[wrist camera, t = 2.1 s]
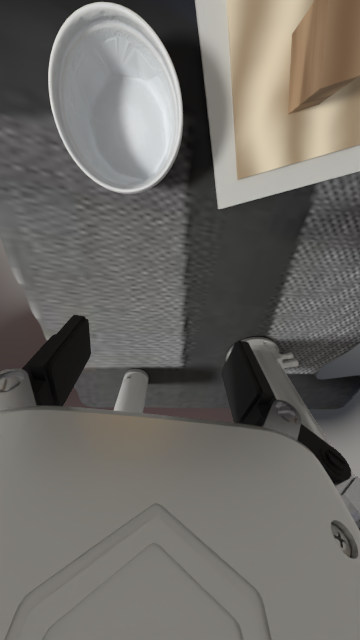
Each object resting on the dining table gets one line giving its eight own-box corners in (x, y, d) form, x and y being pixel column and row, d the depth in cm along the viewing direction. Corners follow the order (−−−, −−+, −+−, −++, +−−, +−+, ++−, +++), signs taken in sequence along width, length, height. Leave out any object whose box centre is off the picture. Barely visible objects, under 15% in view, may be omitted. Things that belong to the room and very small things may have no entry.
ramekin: (196, 87, 22) (203, 47, 17) (166, 208, 29) (163, 210, 23) (82, 29, 20) (42, -42, 14) (78, 175, 27) (50, 168, 21)
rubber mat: (457, -176, 15) (466, -189, 14) (372, 167, 26) (376, 166, 26) (188, -55, 18) (189, -62, 17) (218, 209, 29) (218, 209, 29)
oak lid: (407, -94, 16) (532, -255, 11) (358, 145, 25) (413, 127, 19) (225, -18, 18) (246, -119, 12) (237, 179, 27) (253, 173, 21)
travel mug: (124, 366, 47) (94, 457, 30) (150, 369, 48) (134, 460, 31) (123, 382, 51) (95, 472, 34) (147, 385, 51) (131, 475, 35)
